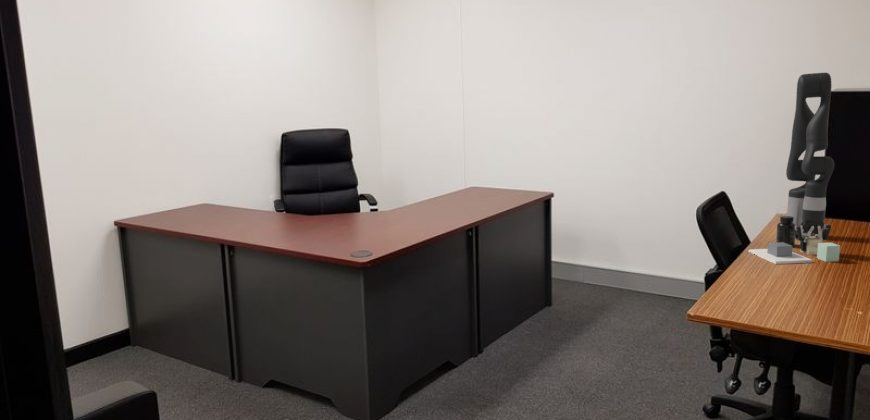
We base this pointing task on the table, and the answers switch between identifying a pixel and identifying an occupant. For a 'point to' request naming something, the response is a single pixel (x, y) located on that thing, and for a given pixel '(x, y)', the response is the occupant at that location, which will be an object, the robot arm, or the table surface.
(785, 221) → the supplement bottle
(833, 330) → the table surface
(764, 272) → the table surface
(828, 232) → the robot arm
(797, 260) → the build plate
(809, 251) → the birch block
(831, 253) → the sage block
